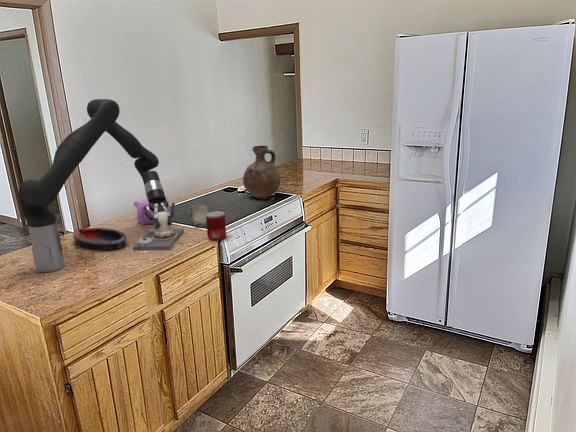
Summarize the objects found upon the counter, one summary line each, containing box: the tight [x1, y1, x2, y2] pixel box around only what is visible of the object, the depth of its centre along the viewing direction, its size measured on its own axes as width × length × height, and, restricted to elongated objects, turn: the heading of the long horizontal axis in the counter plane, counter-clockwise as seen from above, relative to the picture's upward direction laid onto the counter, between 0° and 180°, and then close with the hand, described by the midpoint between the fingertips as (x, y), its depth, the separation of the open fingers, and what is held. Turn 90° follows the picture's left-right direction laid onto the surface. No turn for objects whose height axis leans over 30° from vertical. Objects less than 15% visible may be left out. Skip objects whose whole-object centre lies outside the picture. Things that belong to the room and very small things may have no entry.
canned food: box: [206, 210, 227, 241], centre depth 188 cm, size 8×8×11 cm
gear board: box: [132, 226, 185, 251], centre depth 188 cm, size 23×15×4 cm, turn 178°
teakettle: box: [133, 197, 171, 225], centre depth 217 cm, size 17×17×12 cm
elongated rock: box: [189, 203, 211, 229], centre depth 220 cm, size 35×5×10 cm
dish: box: [72, 227, 127, 250], centre depth 187 cm, size 16×31×5 cm, turn 55°
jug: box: [242, 145, 281, 199], centre depth 253 cm, size 22×22×30 cm
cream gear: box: [155, 211, 174, 237], centre depth 187 cm, size 8×8×10 cm
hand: (164, 225), depth 185 cm, fingers closed on cream gear, 4 cm apart
